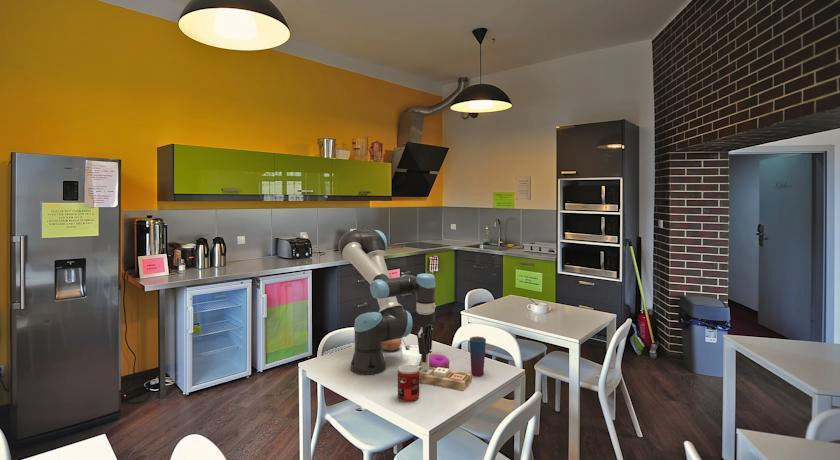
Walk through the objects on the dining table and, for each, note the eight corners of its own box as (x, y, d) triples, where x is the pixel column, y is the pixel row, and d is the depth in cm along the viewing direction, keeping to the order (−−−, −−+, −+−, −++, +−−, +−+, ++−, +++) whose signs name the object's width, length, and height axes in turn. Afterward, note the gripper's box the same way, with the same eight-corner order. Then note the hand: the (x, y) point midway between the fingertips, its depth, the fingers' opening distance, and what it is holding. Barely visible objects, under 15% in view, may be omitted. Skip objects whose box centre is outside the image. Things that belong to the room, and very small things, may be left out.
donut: (437, 373, 189) (437, 362, 189) (421, 366, 196) (421, 356, 196) (454, 366, 196) (454, 356, 195) (437, 360, 203) (437, 351, 203)
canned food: (397, 393, 168) (397, 364, 168) (418, 392, 169) (418, 364, 168) (398, 402, 161) (397, 372, 160) (420, 401, 161) (420, 372, 161)
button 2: (433, 376, 179) (433, 370, 178) (438, 372, 183) (438, 366, 183) (445, 378, 176) (445, 372, 176) (449, 374, 181) (449, 368, 181)
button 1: (417, 377, 181) (417, 371, 181) (422, 373, 186) (422, 367, 186) (428, 379, 179) (428, 373, 179) (433, 374, 184) (433, 369, 184)
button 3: (449, 383, 176) (449, 377, 176) (454, 378, 180) (454, 372, 180) (462, 385, 174) (462, 379, 174) (466, 380, 178) (466, 374, 178)
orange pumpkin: (401, 352, 213) (401, 336, 213) (378, 353, 213) (378, 336, 213) (401, 345, 224) (401, 330, 224) (380, 345, 224) (380, 330, 224)
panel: (411, 381, 180) (411, 373, 180) (421, 372, 189) (421, 365, 189) (463, 390, 171) (463, 382, 171) (471, 381, 180) (471, 373, 180)
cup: (485, 377, 183) (485, 341, 182) (468, 376, 185) (468, 340, 184) (486, 371, 190) (486, 336, 189) (470, 370, 191) (470, 336, 190)
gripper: (427, 317, 174) (427, 376, 175) (440, 309, 185) (439, 365, 187) (410, 315, 177) (410, 373, 178) (423, 307, 189) (423, 362, 190)
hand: (425, 369), depth 183 cm, fingers closed
